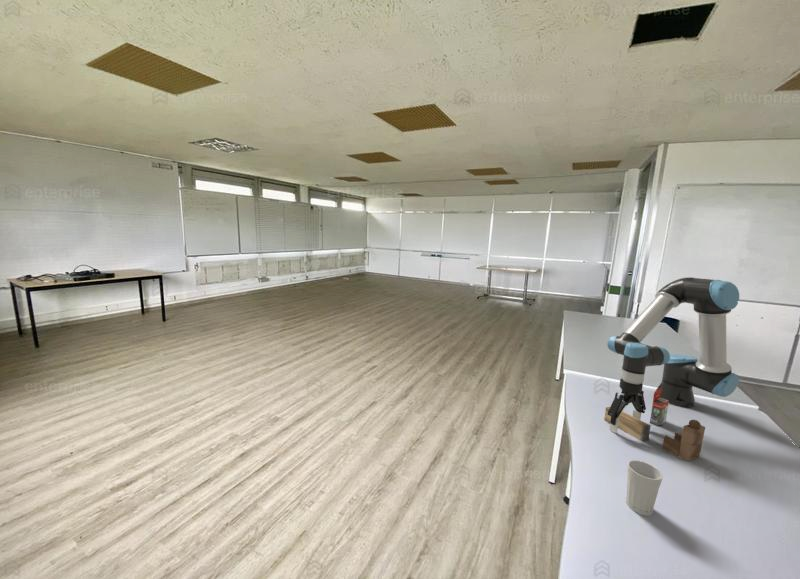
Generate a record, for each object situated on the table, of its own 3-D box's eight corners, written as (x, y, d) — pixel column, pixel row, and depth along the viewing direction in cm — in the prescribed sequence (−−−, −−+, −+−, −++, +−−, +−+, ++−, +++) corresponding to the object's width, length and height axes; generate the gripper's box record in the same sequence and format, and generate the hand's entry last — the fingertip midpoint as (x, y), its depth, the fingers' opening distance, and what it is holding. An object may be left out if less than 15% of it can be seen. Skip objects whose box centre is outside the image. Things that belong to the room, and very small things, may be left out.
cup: (615, 496, 96) (621, 460, 94) (640, 495, 97) (645, 459, 95) (637, 518, 88) (643, 480, 87) (663, 517, 89) (670, 479, 87)
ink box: (666, 421, 139) (671, 390, 137) (659, 426, 135) (664, 394, 133) (656, 417, 142) (661, 387, 140) (649, 422, 138) (654, 391, 136)
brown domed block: (675, 443, 123) (681, 409, 121) (700, 457, 116) (707, 420, 114) (662, 448, 120) (668, 412, 118) (687, 461, 113) (694, 424, 111)
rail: (610, 418, 140) (612, 406, 139) (648, 439, 126) (650, 425, 125) (604, 420, 139) (605, 407, 138) (641, 441, 124) (644, 427, 123)
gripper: (641, 373, 137) (634, 418, 140) (601, 380, 128) (594, 428, 131) (661, 380, 130) (653, 428, 133) (619, 388, 121) (612, 439, 125)
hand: (624, 428), depth 132 cm, fingers open, 13 cm apart
